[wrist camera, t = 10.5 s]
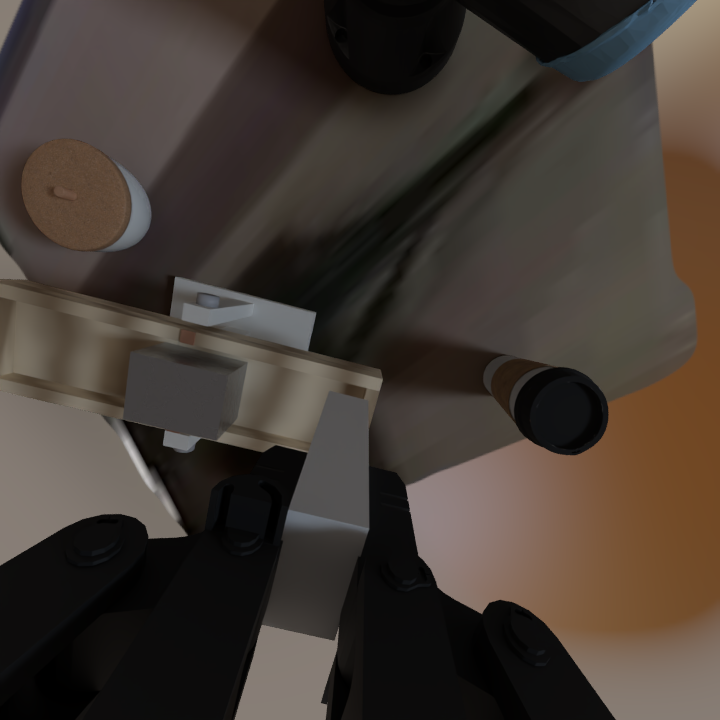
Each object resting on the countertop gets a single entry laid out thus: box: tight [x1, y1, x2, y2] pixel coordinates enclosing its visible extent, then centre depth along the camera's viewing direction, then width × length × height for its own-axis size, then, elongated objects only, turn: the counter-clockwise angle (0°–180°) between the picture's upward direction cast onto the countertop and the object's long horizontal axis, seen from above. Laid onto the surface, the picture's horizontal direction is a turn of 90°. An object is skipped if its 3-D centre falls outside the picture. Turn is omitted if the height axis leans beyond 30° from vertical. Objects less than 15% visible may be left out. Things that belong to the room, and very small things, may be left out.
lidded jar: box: [21, 139, 151, 252], centre depth 37 cm, size 11×11×9 cm
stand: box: [163, 277, 316, 453], centre depth 39 cm, size 18×16×14 cm
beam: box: [0, 279, 383, 453], centre depth 33 cm, size 36×10×4 cm, turn 75°
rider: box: [123, 342, 248, 441], centre depth 30 cm, size 8×6×5 cm
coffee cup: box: [483, 356, 608, 455], centre depth 38 cm, size 8×8×15 cm
